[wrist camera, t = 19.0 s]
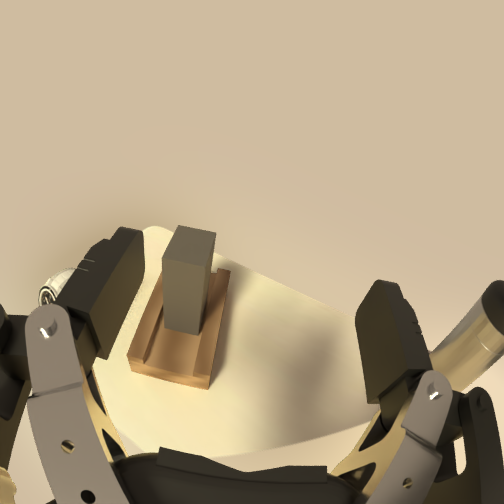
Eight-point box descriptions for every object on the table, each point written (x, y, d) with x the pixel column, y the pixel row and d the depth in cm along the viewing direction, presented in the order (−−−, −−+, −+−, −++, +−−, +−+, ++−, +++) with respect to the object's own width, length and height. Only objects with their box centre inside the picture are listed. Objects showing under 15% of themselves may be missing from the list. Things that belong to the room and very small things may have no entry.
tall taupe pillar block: (206, 301, 40) (216, 232, 33) (198, 335, 36) (205, 267, 28) (175, 294, 40) (177, 224, 33) (163, 327, 36) (160, 257, 28)
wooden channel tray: (227, 289, 47) (230, 270, 45) (207, 389, 33) (210, 375, 30) (167, 277, 47) (167, 257, 44) (131, 371, 33) (126, 354, 30)
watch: (51, 340, 32) (24, 286, 25) (87, 307, 38) (71, 251, 31) (75, 364, 31) (48, 312, 24) (112, 327, 37) (98, 271, 30)
